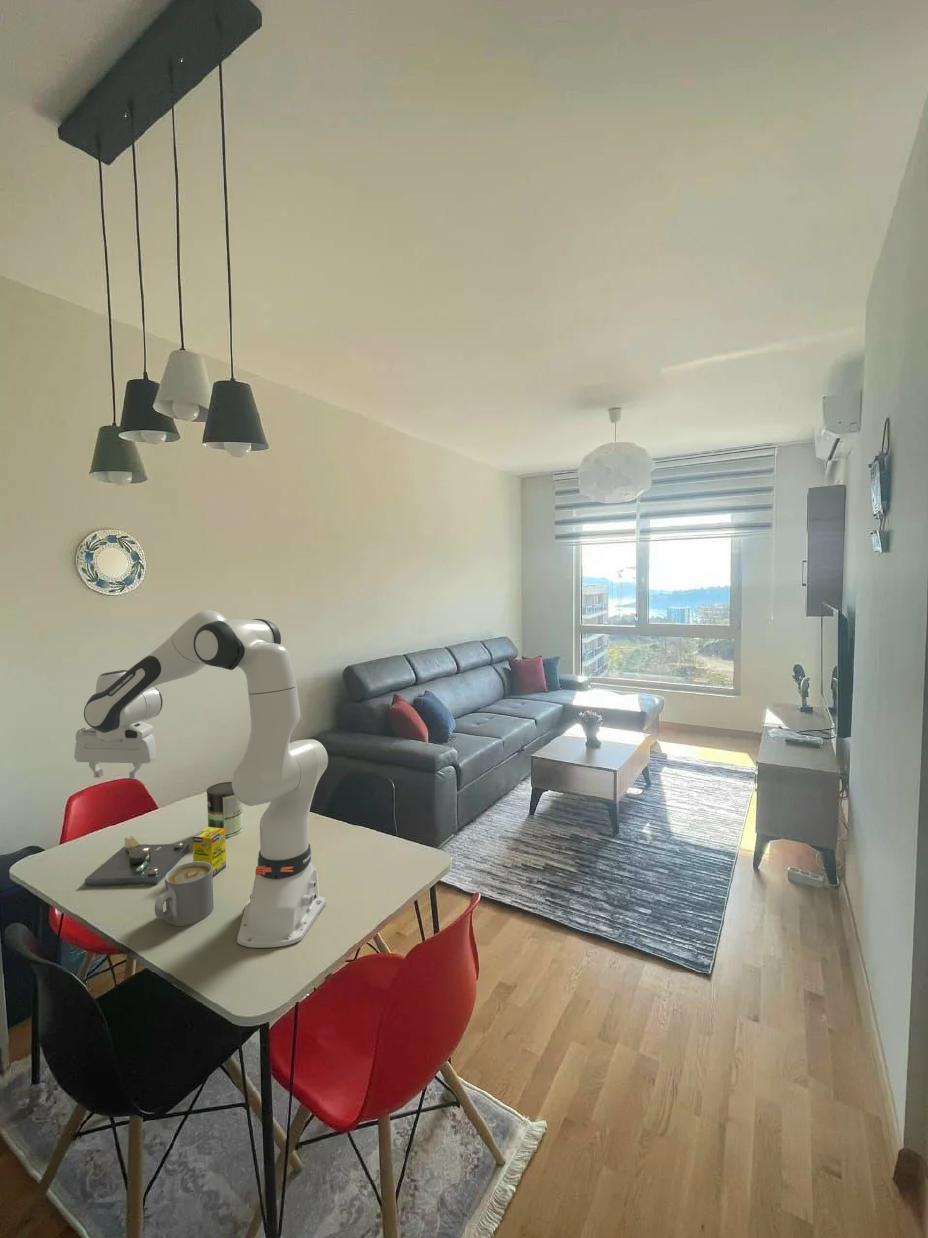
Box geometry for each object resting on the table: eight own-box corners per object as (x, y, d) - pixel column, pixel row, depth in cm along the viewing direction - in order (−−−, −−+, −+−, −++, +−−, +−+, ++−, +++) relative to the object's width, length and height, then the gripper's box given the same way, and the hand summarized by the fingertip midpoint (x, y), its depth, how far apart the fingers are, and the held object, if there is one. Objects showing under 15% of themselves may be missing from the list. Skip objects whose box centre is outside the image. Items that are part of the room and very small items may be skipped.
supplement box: (212, 878, 143) (211, 838, 142) (192, 876, 144) (191, 836, 143) (226, 866, 149) (225, 828, 148) (207, 864, 150) (206, 826, 149)
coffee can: (205, 841, 164) (203, 795, 163) (210, 826, 173) (209, 783, 172) (242, 836, 167) (240, 791, 166) (244, 822, 176) (243, 780, 176)
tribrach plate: (157, 884, 140) (156, 872, 140) (85, 886, 139) (84, 874, 139) (189, 850, 158) (188, 839, 158) (125, 852, 157) (125, 841, 157)
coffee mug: (199, 895, 135) (198, 857, 134) (221, 909, 129) (220, 869, 128) (142, 923, 124) (141, 881, 123) (164, 939, 118) (162, 895, 118)
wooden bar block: (153, 858, 148) (152, 848, 148) (133, 866, 145) (132, 854, 144) (138, 844, 157) (137, 833, 157) (118, 850, 153) (118, 839, 153)
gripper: (68, 731, 144) (69, 781, 146) (147, 732, 146) (147, 782, 147) (83, 724, 151) (84, 772, 152) (158, 726, 152) (159, 773, 153)
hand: (116, 777), depth 150 cm, fingers open, 8 cm apart
